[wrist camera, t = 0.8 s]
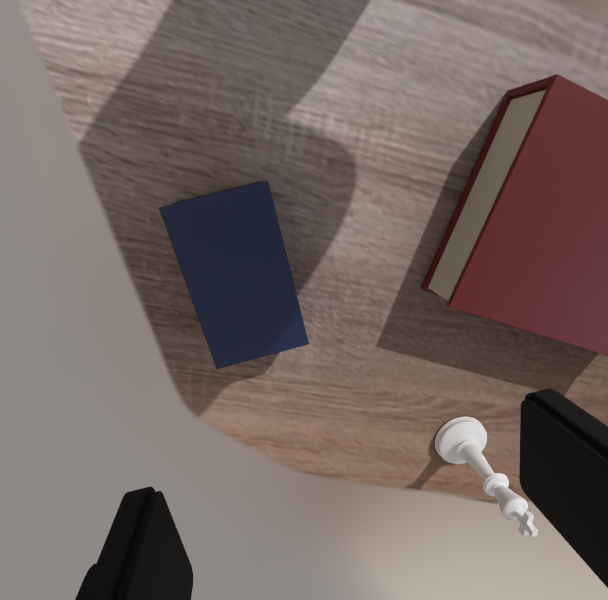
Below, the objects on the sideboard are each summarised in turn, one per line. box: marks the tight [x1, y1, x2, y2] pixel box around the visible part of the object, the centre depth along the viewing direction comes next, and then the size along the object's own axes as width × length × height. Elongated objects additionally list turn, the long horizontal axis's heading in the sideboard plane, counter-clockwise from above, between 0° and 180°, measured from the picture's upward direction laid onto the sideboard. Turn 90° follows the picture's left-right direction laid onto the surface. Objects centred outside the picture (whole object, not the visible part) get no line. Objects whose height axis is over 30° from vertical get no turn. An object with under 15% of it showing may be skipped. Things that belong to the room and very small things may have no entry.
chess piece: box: [435, 417, 538, 537], centre depth 31 cm, size 5×5×10 cm
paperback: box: [159, 180, 309, 369], centre depth 25 cm, size 11×6×4 cm, turn 13°
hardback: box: [421, 74, 608, 356], centre depth 28 cm, size 20×15×4 cm
